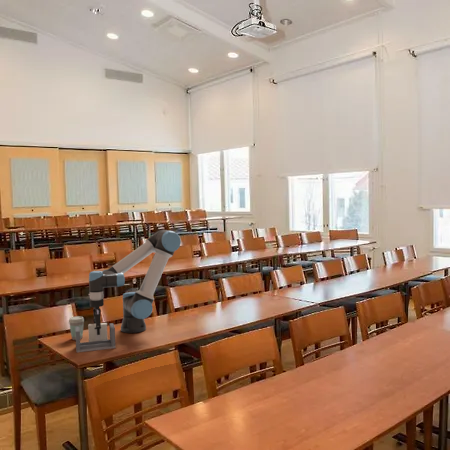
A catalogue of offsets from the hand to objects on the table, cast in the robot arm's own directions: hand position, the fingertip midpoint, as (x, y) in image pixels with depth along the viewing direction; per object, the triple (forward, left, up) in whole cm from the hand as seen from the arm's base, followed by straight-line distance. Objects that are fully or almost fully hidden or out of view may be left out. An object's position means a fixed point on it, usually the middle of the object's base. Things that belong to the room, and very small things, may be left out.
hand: (97, 337), depth 269 cm
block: (0, -1, -3) cm, 3 cm away
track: (+2, +9, -3) cm, 10 cm away
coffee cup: (+11, -12, -3) cm, 16 cm away
